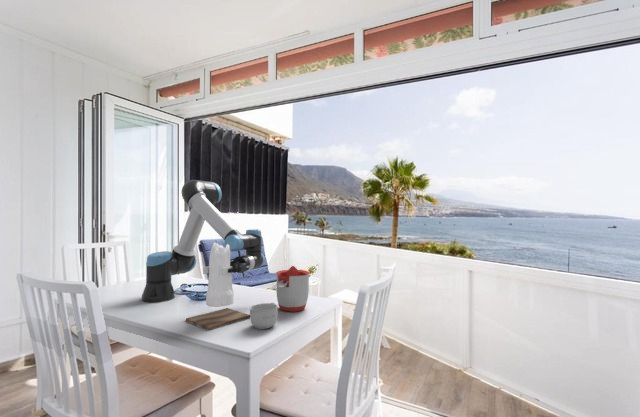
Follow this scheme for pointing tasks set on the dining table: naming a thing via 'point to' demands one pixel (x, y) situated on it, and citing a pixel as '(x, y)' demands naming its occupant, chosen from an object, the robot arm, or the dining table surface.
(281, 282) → the citrus juicer
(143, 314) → the dining table surface
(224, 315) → the board
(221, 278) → the decorative vase
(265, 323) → the teacup
